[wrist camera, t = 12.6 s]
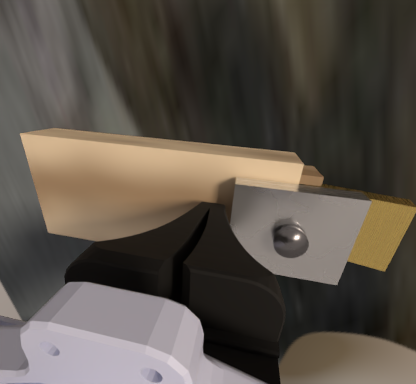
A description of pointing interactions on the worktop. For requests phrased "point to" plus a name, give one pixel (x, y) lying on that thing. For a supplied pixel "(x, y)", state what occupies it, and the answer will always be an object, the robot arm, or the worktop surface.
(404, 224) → the lever
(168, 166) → the board
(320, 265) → the lever cap
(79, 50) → the worktop surface
